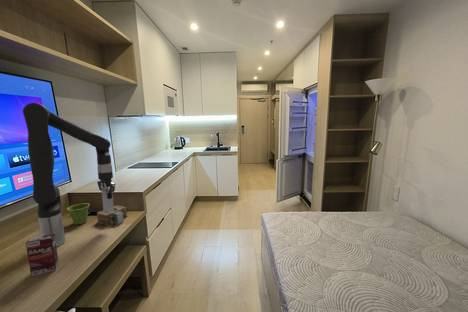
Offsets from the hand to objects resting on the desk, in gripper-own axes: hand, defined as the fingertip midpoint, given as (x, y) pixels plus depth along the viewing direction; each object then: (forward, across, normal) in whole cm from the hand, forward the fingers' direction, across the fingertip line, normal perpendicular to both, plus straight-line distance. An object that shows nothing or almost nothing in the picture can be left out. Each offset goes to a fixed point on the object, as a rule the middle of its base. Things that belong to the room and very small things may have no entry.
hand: (107, 197), depth 125 cm
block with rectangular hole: (+20, -10, +9) cm, 24 cm away
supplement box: (+21, +9, -37) cm, 43 cm away
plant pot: (+20, -26, -3) cm, 33 cm away
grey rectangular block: (+20, -2, +7) cm, 21 cm away
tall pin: (+9, 0, 0) cm, 9 cm away
